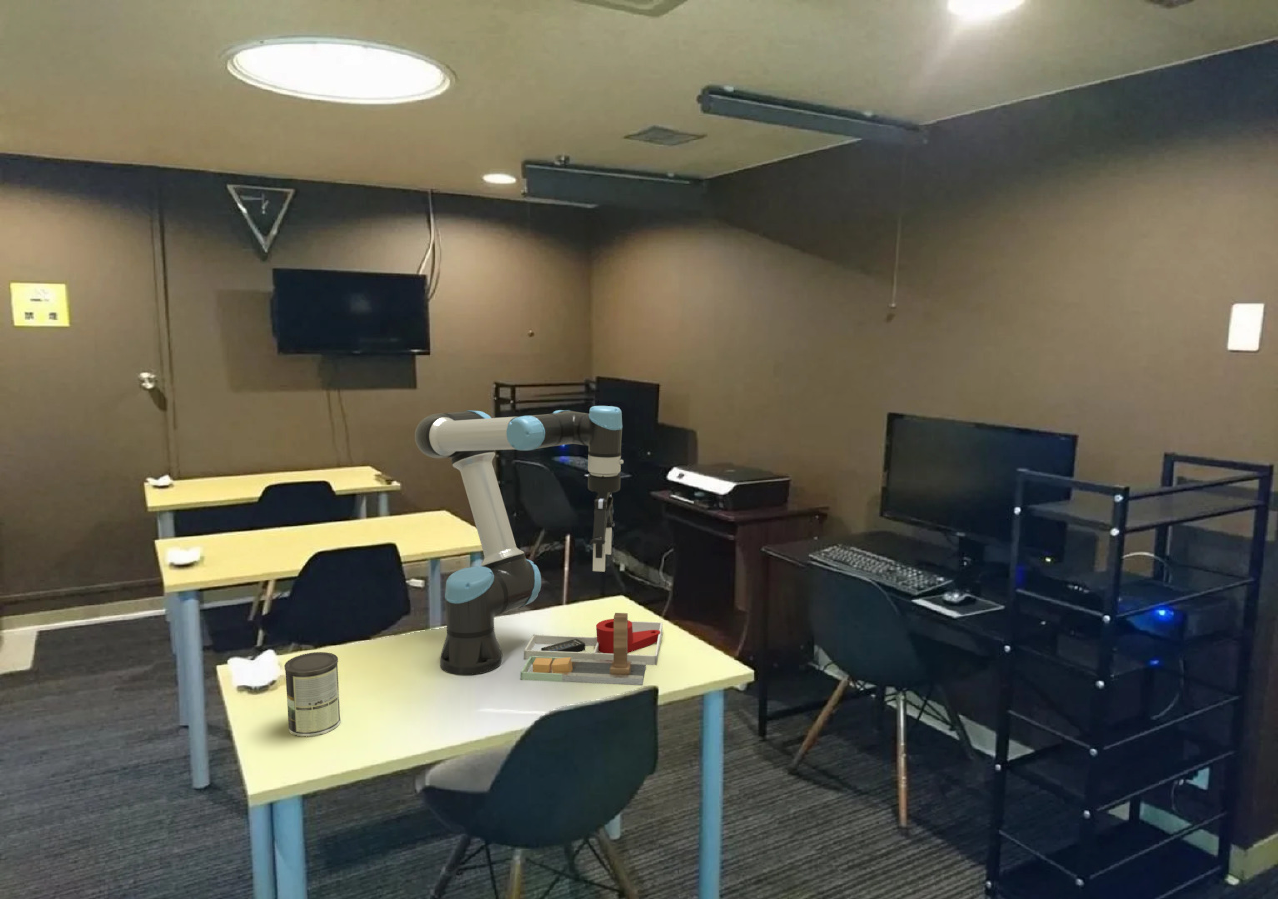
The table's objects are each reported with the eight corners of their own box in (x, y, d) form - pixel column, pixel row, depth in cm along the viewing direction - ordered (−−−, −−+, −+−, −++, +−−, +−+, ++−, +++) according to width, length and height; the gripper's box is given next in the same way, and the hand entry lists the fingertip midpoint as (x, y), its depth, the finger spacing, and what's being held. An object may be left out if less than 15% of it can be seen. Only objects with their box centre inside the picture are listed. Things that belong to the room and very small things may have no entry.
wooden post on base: (628, 679, 189) (629, 618, 187) (610, 678, 189) (610, 618, 187) (630, 671, 193) (631, 612, 191) (612, 670, 193) (612, 611, 191)
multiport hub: (540, 656, 203) (540, 647, 203) (576, 646, 210) (576, 638, 210) (549, 662, 200) (549, 653, 200) (585, 652, 207) (585, 643, 206)
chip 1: (532, 676, 191) (532, 664, 191) (536, 669, 195) (536, 657, 195) (549, 677, 191) (548, 665, 190) (552, 670, 195) (552, 658, 194)
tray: (520, 682, 188) (520, 672, 188) (530, 665, 198) (529, 656, 198) (562, 684, 187) (562, 674, 187) (569, 667, 197) (569, 657, 197)
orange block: (553, 677, 191) (551, 665, 190) (556, 670, 195) (554, 658, 194) (569, 675, 190) (567, 663, 190) (572, 668, 194) (570, 657, 194)
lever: (606, 659, 202) (605, 634, 201) (591, 647, 210) (590, 623, 209) (668, 644, 210) (667, 620, 209) (651, 633, 218) (650, 610, 217)
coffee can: (276, 731, 164) (272, 666, 162) (314, 710, 174) (311, 648, 172) (315, 741, 160) (311, 675, 158) (351, 719, 170) (348, 656, 168)
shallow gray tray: (562, 684, 187) (562, 675, 187) (569, 667, 197) (569, 658, 197) (642, 688, 186) (642, 679, 185) (645, 670, 196) (645, 661, 195)
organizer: (524, 662, 200) (523, 650, 200) (543, 628, 224) (543, 617, 224) (656, 667, 197) (656, 656, 197) (662, 632, 221) (662, 622, 221)
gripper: (615, 484, 171) (612, 579, 174) (625, 464, 196) (622, 548, 199) (580, 483, 171) (578, 577, 175) (594, 463, 196) (593, 546, 199)
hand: (602, 562), depth 187 cm, fingers open, 13 cm apart
